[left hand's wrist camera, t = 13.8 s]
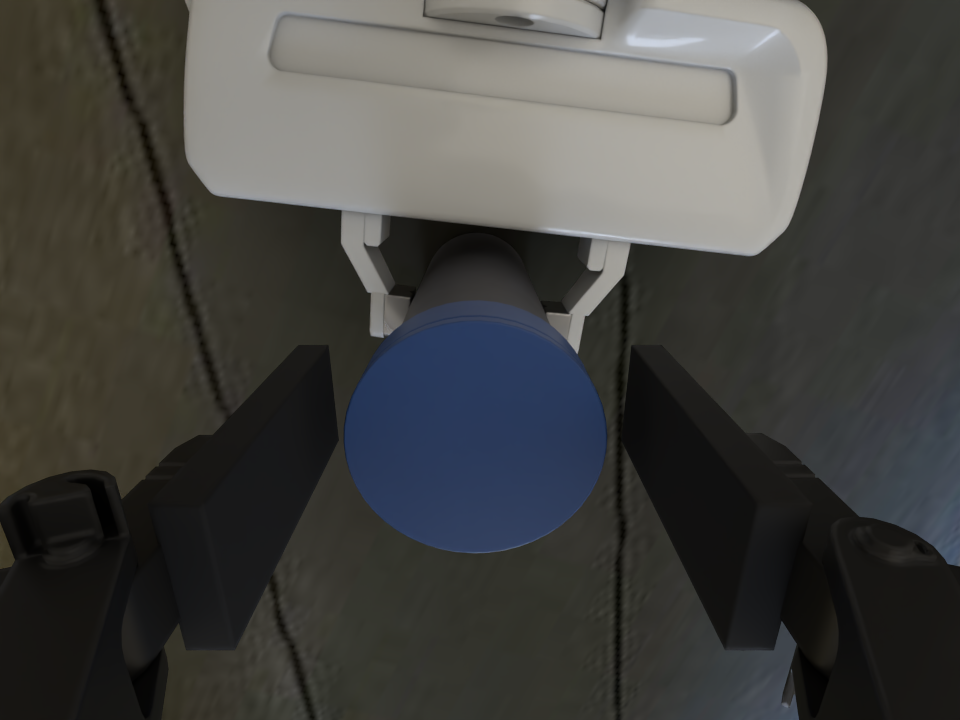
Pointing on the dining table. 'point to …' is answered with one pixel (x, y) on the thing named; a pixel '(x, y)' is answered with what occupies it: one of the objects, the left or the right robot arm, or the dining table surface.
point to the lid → (475, 428)
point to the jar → (476, 276)
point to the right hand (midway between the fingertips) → (475, 342)
